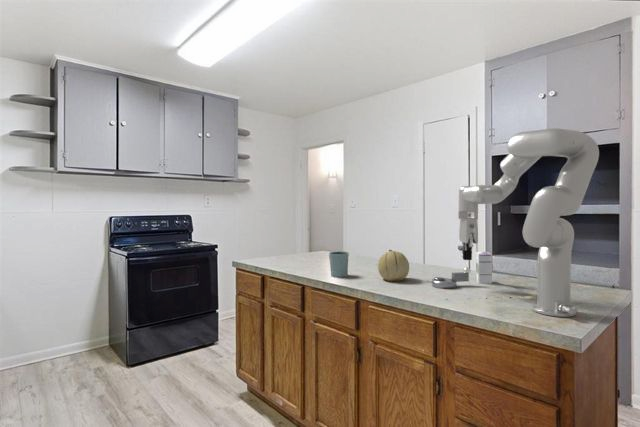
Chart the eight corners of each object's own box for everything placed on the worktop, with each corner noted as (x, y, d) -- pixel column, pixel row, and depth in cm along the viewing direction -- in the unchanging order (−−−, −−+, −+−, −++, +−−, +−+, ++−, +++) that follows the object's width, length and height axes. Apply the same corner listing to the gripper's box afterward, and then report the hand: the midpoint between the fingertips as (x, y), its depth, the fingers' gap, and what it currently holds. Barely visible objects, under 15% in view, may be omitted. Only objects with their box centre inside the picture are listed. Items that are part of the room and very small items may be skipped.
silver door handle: (437, 289, 156) (437, 270, 156) (428, 284, 166) (428, 266, 166) (475, 287, 158) (475, 269, 158) (464, 282, 168) (464, 265, 168)
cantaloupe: (395, 286, 166) (395, 253, 166) (371, 281, 178) (371, 250, 177) (416, 282, 176) (416, 250, 175) (391, 277, 187) (391, 247, 187)
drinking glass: (352, 276, 190) (351, 253, 190) (333, 278, 187) (333, 254, 186) (343, 273, 200) (343, 250, 199) (326, 275, 196) (325, 252, 196)
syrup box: (492, 286, 166) (492, 253, 165) (478, 285, 167) (478, 253, 166) (489, 283, 171) (489, 251, 171) (475, 283, 172) (475, 251, 172)
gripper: (484, 216, 148) (482, 263, 149) (471, 214, 163) (470, 256, 164) (464, 216, 149) (463, 262, 150) (453, 214, 164) (452, 256, 165)
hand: (467, 259), depth 157 cm, fingers closed
